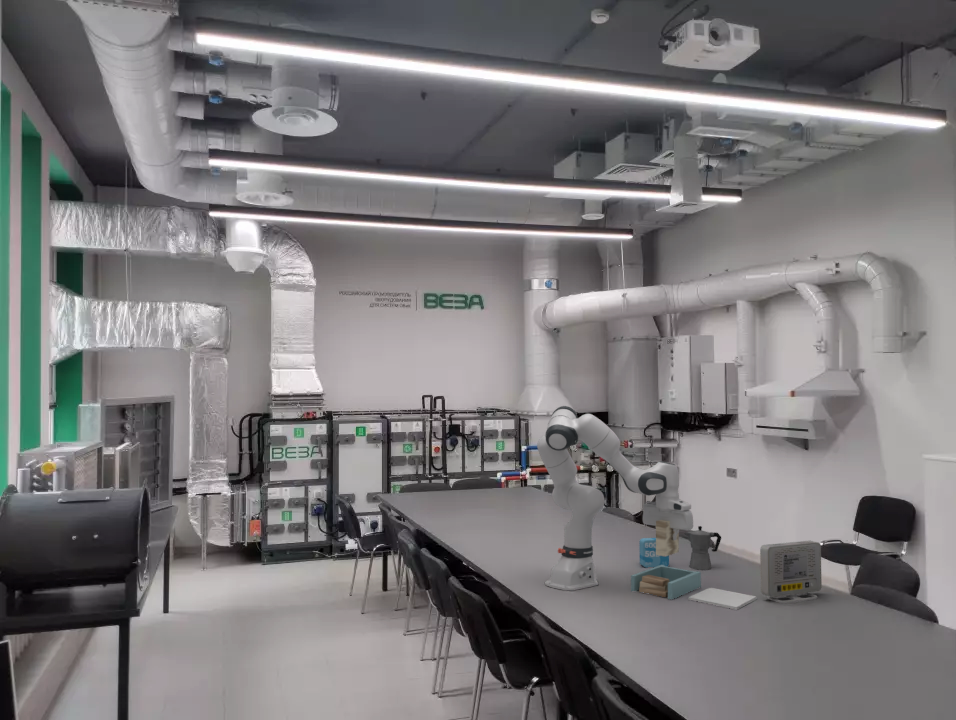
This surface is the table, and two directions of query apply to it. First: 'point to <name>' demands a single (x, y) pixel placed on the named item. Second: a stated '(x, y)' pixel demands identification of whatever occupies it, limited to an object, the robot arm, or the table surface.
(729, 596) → the pad
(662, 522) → the beige wooden block
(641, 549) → the data package
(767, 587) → the network device
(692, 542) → the coffeepot
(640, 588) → the offcut stack
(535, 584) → the table surface
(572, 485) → the robot arm
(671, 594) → the tray
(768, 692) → the table surface
